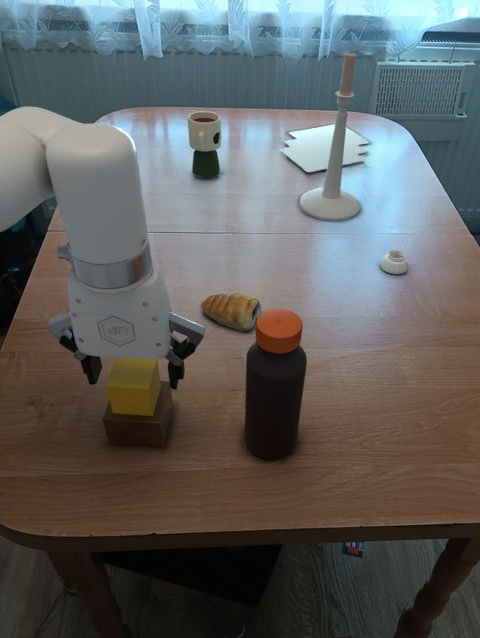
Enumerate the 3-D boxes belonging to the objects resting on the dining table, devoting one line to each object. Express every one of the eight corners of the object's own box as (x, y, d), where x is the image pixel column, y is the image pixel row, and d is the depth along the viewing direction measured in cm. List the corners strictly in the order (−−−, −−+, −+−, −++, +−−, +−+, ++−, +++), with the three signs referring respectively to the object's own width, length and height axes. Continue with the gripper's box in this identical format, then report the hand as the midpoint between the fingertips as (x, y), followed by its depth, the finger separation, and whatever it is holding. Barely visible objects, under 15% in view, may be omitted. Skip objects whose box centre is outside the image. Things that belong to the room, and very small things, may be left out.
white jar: (398, 258, 102) (374, 262, 101) (401, 245, 100) (377, 249, 99) (411, 273, 99) (387, 277, 97) (415, 259, 97) (391, 264, 95)
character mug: (218, 186, 120) (217, 127, 111) (186, 184, 120) (182, 125, 111) (224, 165, 128) (224, 108, 119) (195, 163, 128) (192, 106, 119)
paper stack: (260, 137, 140) (260, 135, 140) (340, 123, 149) (340, 121, 149) (307, 175, 125) (307, 172, 125) (392, 157, 135) (393, 154, 134)
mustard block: (112, 413, 66) (106, 385, 62) (122, 383, 69) (116, 355, 66) (153, 416, 66) (149, 388, 62) (161, 386, 69) (157, 358, 66)
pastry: (195, 321, 86) (194, 302, 84) (211, 297, 91) (210, 278, 89) (250, 335, 85) (251, 316, 82) (263, 309, 89) (264, 291, 87)
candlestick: (333, 186, 122) (354, 38, 102) (371, 211, 115) (402, 56, 94) (287, 200, 117) (300, 46, 96) (325, 227, 109) (347, 66, 89)
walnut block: (108, 444, 69) (102, 419, 65) (122, 402, 74) (116, 377, 70) (163, 448, 68) (159, 423, 65) (173, 406, 74) (170, 380, 70)
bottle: (280, 412, 74) (290, 295, 60) (306, 448, 69) (324, 332, 56) (235, 429, 71) (235, 312, 57) (259, 468, 67) (266, 352, 53)
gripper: (10, 276, 51) (54, 398, 62) (194, 286, 50) (203, 406, 62) (39, 234, 56) (74, 353, 68) (204, 242, 56) (211, 361, 67)
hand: (136, 378), depth 65 cm, fingers open, 9 cm apart
